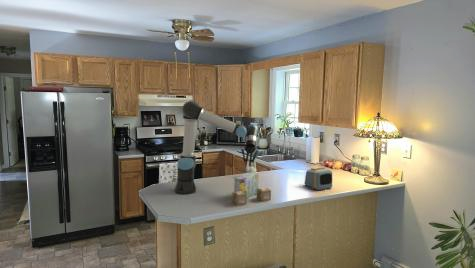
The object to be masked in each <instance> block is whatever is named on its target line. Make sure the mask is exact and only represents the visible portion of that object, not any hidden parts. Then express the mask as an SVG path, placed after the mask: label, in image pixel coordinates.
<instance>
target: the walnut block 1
mask: <svg viewBox="0 0 475 268" xmlns="http://www.w3.org/2000/svg"><path fill="white" fill-rule="evenodd" d="M231 199H232V201H231V202H232V203H233V204H234V205H235V206H238V205H239V206H244V205H245V204H246V205H247V204H248V203H247V202H248V201H247V200H248V197H247V194H246V193H245V192H243V191H237V192H234V191H232V198H231ZM239 206H238V207H239Z"/></svg>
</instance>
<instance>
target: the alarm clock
mask: <svg viewBox="0 0 475 268" xmlns="http://www.w3.org/2000/svg"><path fill="white" fill-rule="evenodd" d="M304 177H305V178H304V186H306V187H309V188H311V189H313V190H315V191H316V190H317V191H322V190H327V189H331V188H333V171H332V170H331V169H327V168H326V167H323V166H313V167H311V168H310V169H307V170H306V172H305V176H304Z"/></svg>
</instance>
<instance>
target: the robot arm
mask: <svg viewBox="0 0 475 268" xmlns="http://www.w3.org/2000/svg"><path fill="white" fill-rule="evenodd" d="M181 110H182V114H183V115H182V119H183V121H184V127H183V129H184V130H183V142H182V143H183V145H182V152H181V153H180V155H179V156H180V158H179V159H178V160H177V162H176V166H177V173H176V174H177V175H176V176H177V181H176V184H175V186H174V192H175V193H176V194H179V195H190V194H195V193H196V192H197V187H196V183H195V169H196V165H197V162H196V160H197V156H196V153H195V147H196V146H195V144H196V132H197V122H198V121H202V122H205V123H206V124H210V125H212V126H214V127H217V128H219V129H221V130H224V131H226V132H229V133H231V134H233V135H235V136H237V137H239V138H243V137H246V140H245V146H244V148H241V149H240V151H241V154H242V157H243V158H242V159H243V162H244V165H245V170H246V172H247V171H249V166H251V162H252V163H253V162H254V161H255V160H256V158H257V155H258V154H259V151H260V150H259V149H257V148H256V146H257V140H258V139H257V138H258V126H257V125H256V124H255V123H252V124H248V125H243V124H240V123H237V122H236V123H235V122H234V121H231V120H229V119H227V118H224V117H221V116H220V115H217V114H214V113H213V112H210V111H208V110H206V109H204V108H203V107H202V106H201V105H199V103H198V102H197V101H194V100H189V101H186V102H184V104H183V105H182V108H181ZM245 152H246V156H245Z"/></svg>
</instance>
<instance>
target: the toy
mask: <svg viewBox="0 0 475 268" xmlns="http://www.w3.org/2000/svg"><path fill="white" fill-rule="evenodd" d="M256 163H257V162H256V161H255V160H254V162H251V166H249V171H246V172H244V173H242V174H241V176H242V175H246V174H249V173H252V172H254V173H257V167H256V166H257V164H256Z"/></svg>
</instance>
